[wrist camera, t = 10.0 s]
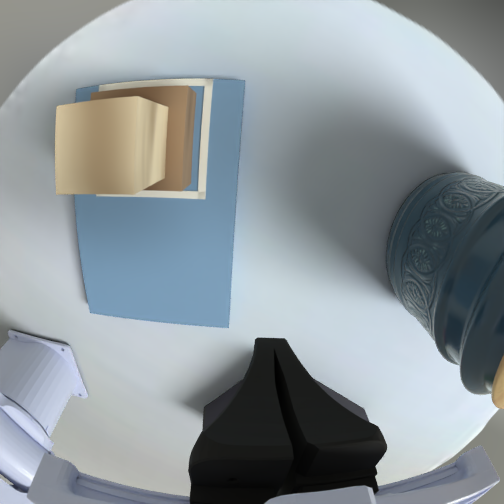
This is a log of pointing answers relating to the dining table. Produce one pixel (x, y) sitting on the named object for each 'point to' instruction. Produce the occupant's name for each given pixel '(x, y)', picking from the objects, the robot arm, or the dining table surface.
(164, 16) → the dining table surface
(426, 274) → the canister
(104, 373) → the dining table surface
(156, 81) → the board
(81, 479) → the robot arm
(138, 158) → the maple block
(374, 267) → the dining table surface
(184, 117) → the walnut base
